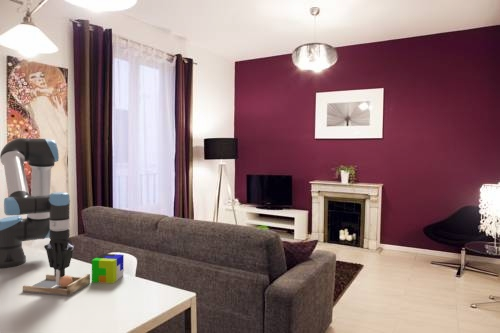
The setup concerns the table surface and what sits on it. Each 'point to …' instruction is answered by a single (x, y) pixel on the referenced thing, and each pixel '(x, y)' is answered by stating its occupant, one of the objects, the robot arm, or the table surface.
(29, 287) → the divided wooden tray
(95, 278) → the puzzle toy
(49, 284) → the tray
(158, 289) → the table surface
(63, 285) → the ball
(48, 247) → the robot arm
